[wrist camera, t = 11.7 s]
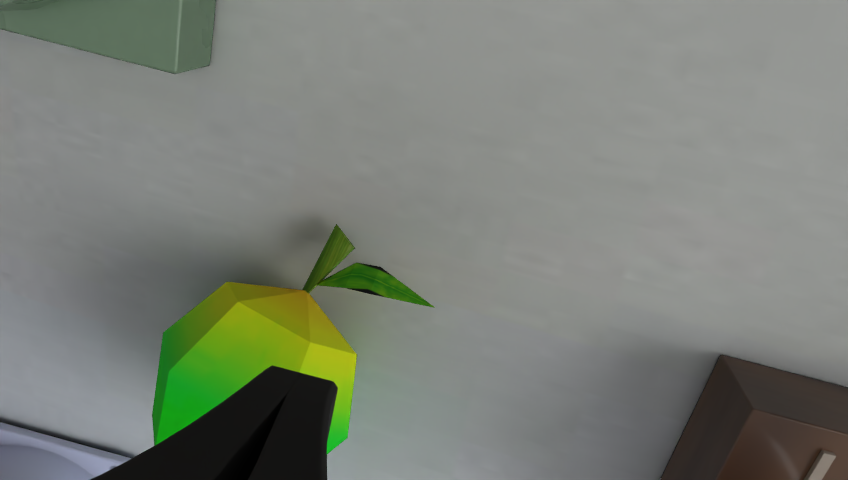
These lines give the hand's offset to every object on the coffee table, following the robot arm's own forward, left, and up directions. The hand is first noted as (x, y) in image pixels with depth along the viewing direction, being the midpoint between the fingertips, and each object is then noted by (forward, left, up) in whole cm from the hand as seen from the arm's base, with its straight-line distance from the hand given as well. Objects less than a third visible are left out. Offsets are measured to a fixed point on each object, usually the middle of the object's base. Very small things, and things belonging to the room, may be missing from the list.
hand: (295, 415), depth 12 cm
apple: (0, -5, -8) cm, 9 cm away
